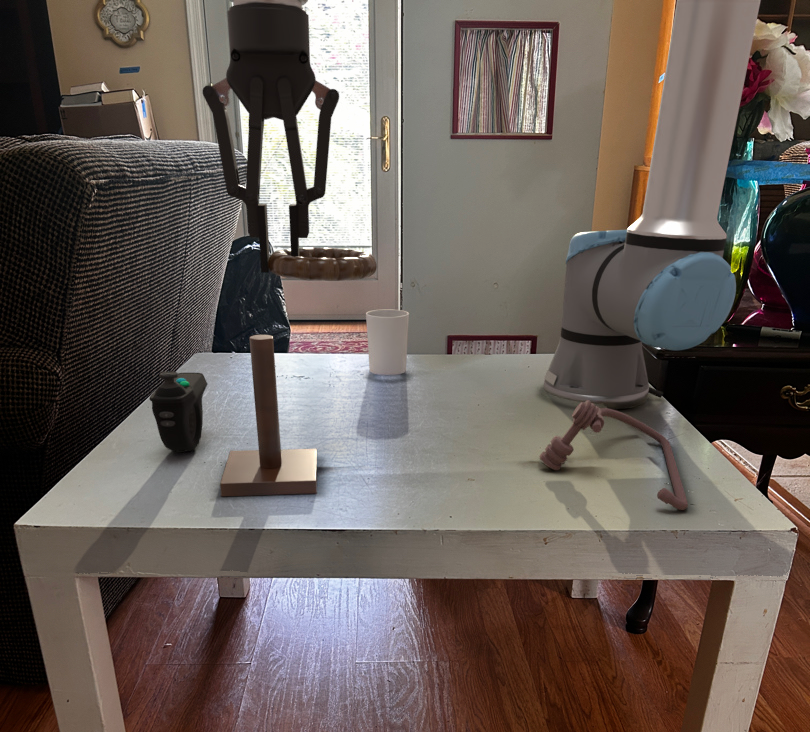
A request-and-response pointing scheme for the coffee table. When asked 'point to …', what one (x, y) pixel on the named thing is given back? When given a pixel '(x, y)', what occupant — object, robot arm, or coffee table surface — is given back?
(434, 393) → the coffee table surface
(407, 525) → the coffee table surface
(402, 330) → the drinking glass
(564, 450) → the toilet paper hanger
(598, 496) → the coffee table surface
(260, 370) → the stand
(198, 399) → the controller
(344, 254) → the ring
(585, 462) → the coffee table surface
